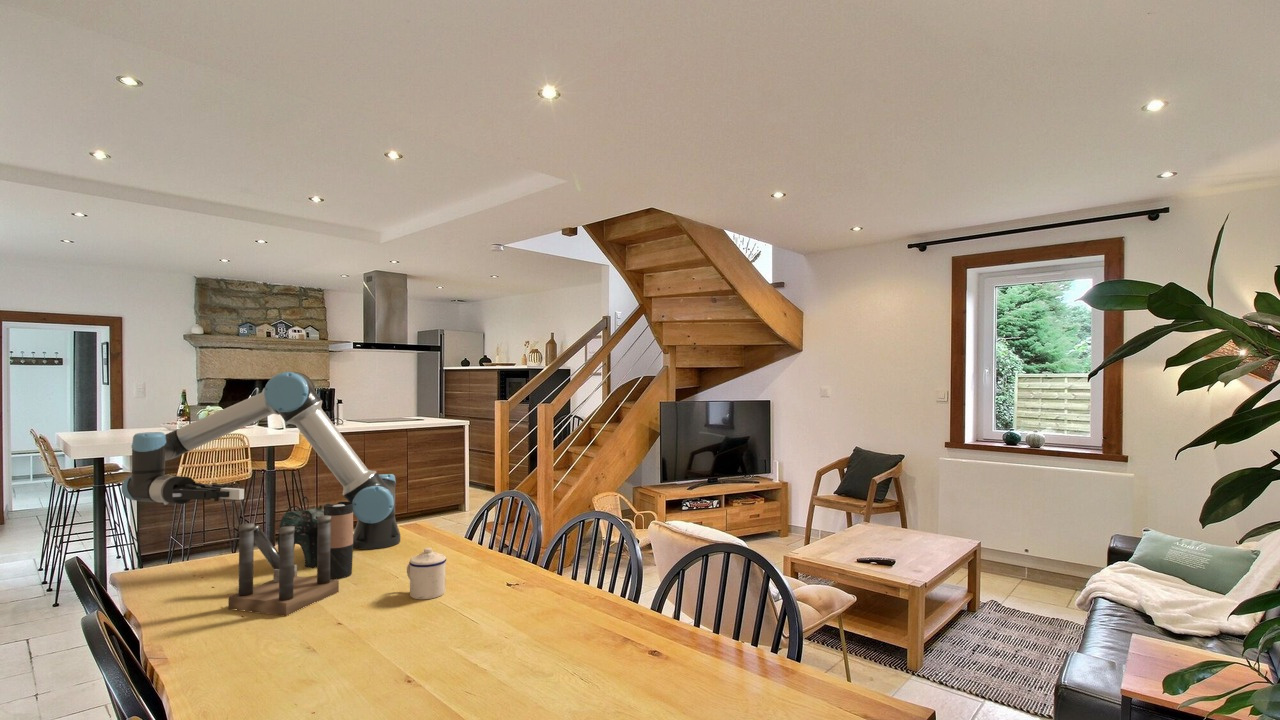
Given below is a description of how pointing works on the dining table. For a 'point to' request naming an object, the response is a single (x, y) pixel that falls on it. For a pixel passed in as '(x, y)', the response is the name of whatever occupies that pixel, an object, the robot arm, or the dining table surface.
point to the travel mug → (340, 539)
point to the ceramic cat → (304, 531)
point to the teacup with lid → (427, 575)
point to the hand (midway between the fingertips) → (241, 494)
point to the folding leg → (266, 547)
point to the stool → (283, 574)
